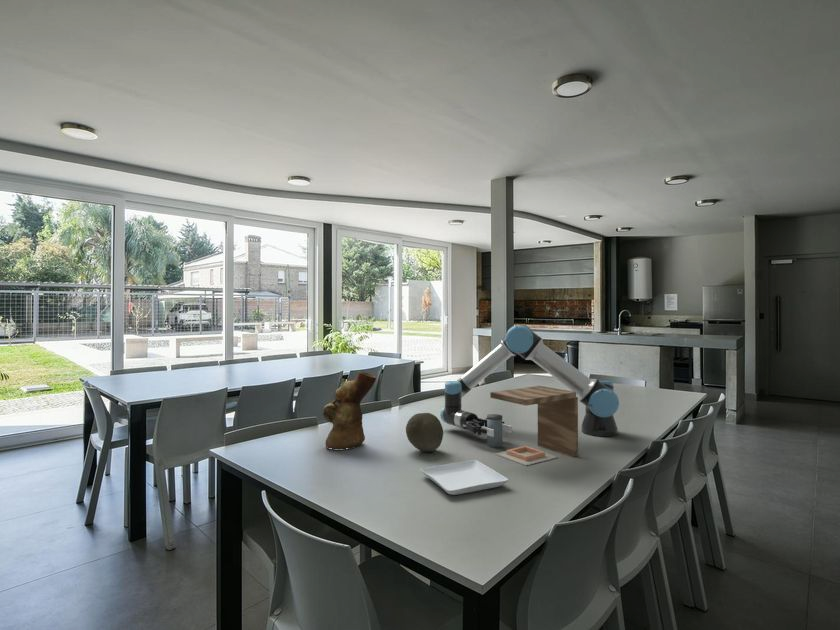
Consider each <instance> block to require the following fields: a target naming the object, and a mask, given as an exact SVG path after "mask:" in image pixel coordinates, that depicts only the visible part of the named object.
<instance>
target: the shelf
mask: <svg viewBox="0 0 840 630" xmlns="http://www.w3.org/2000/svg"><path fill="white" fill-rule="evenodd" d="M489 395H490V399H494V400H495V399H496V400H500V401H503V402H508V403H512V404H517V405H522V406H525V407H526V406H533V405H537V446H538V447H541V448H544V449H548V450H551V451H553V450H554V452H557V453H561V454H564V455H566V454H567V456H569V455H570V457H573V458H577V457H579V400H578V396H577V394H576V392H573V391H572V390H566V389H559V388H554V387H548V386H541V385H535V386H529V387H521V388H514V389H513V388H512V389H505V390H498V391H490V394H489ZM576 456H577V457H576Z"/></svg>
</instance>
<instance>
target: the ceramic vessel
mask: <svg viewBox="0 0 840 630" xmlns="http://www.w3.org/2000/svg"><path fill="white" fill-rule="evenodd" d="M376 380H377V377H376V376H374V375H372V374H370V373H368V372H365V371H362V370H361V371H360V370H359V371H358V372H357V374H356V376H355V378H354V379H353V380H345V378H342V379H341V380H340V381H341V382H340V386H339V387H338V388H337V389H336V390H335V392H334V394H335V397H334V398H335V399H333V400H332V401H331V402H330V403H328V404H326V405H324V407H323V410H322V416H323V418H324V419H325V421H327V422H328V423H331V424H332V428H331V430H330V431H329V432H328V435H327V437H326V440H325V448H327V447H328V448H332V449H346V448H352V449H354V448H353V447H355V448H357V447H359V446H361V445H362V444H363V443H364V442H365V440H366V436H365V432H364V428H363V427H364V425H363V410H362V408H361V402H362V401H363V399H364V398H365V396H367V394H368V393H369V392H370V390H371V389H372V388H373V387H374V385H375V382H376ZM338 403H339V404H338ZM356 446H357V447H356ZM328 448H327V449H328Z"/></svg>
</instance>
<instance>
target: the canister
mask: <svg viewBox="0 0 840 630" xmlns="http://www.w3.org/2000/svg"><path fill="white" fill-rule="evenodd" d="M486 418H487V428H490V429H493V430H494V437H491V436H488V435H486V436H487V438H486V439H487V441H486V442H487V447H489V448H493V447H494V448H493V449H495V448H496V449H497V448H498V447H499V448H502V447H503V431H502V422H503V415H501V414H498V413H495V414H494V413H490V414H486ZM499 448H498V449H499Z"/></svg>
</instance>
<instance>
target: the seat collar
mask: <svg viewBox="0 0 840 630" xmlns="http://www.w3.org/2000/svg"><path fill="white" fill-rule="evenodd" d="M494 454H495V456H498V457H501V458H504V459H506V460H510V461H511V462H514V463H516V464H519V463H520V465H522V464H523V465H522V466H525V467H528V466H532V465H535V463H536V464H539V462H540V463H543V462H546V461H551V460H554V459H557V458H558V456H556V455H552V454H550V453H547V452H546V451H543V450H540V449H536V448H534V447H530V446H528V445H524V446H523V445H522V446H519V447H515V448H509V449H506V450H504V451H500V452H497V453H494ZM531 464H532V465H531ZM527 465H528V466H527Z"/></svg>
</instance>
